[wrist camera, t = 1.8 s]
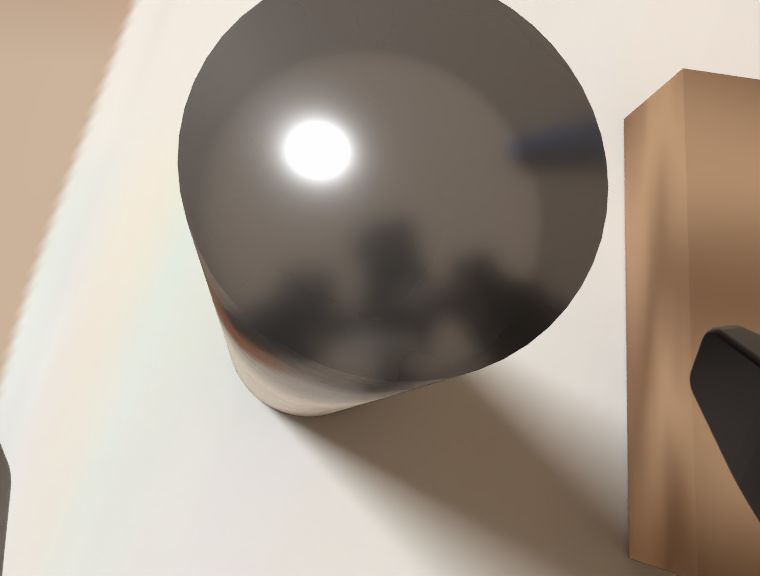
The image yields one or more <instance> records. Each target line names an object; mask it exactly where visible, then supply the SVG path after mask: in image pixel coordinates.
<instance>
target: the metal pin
mask: <svg viewBox="0 0 760 576" xmlns="http://www.w3.org/2000/svg"><path fill="white" fill-rule="evenodd" d="M178 172H179V183H180V193H181V197H182V202H183V206H184V210H185V214H186V219H187V222H188V226H189V229H190V232H191V235H192V238H193V241H194V244H195V247H196V250H197V253H198V256H199V259H200V263H201V266H202V269H203V272H204V275H205V278H206V281H207V284H208V287H209V290H210V293H211V296H212V300H213V303H214V306H215V309H216V312H217V315H218V318H219V321H220V324H221V327H222V330H223V333H224V337H225V340H226V343H227V346H228V349H229V352H230V355H231V358H232V361H233V364H234V366H235V369H236V371H237V373H238V375H239V377H240V378H241V380H242V381H243V383H244V384H245V385H246V387H247V388H248V389H249V390H250V391H251V392H252V393H253V394H254V395H255V396H256V397H257V398H258V399H260V400H261V401H262V402H263V403H265V404H267V405H269V406H270V407H272V408H274V409H276V410H279V411H281V412H284V413H288V414H291V415H297V416H320V415H326V414H330V413H334V412H337V411H340V410H344V409H347V408H351V407H354V406H357V405H361V404H364V403H368V402H371V401H374V400H378V399H381V398H385V397H388V396H391V395H395V394H398V393H402V392H405V391H408V390H412V389H415V388H419V387H422V386H425V385H429V384H432V383H436V382H439V381H442V380H446V379H449V378H453V377H456V376H459V375H463V374H466V373H470V372H473V371H476V370H479V369H481V368H484V367H486V366H488V365H491V364H493V363H495V362H498V361H500V360H502V359H504V358H506V357H508V356H509V355H511V354H513V353H514V352H516V351H518V350H519V349H521V348H523V347H524V346H526V345H527V344H529V343H530V342H531V341H532V340H534V339H535V338H536V337H537V336H539V335H540V334H541V333H542V332H543V331H545V330H546V329H547V328H548V327H549V326H550V325H551V324H552V323H553V322H554V321H555V320H556V319H557V318H558V316H559V315H560V314H561V313H562V312H563V311H564V310H565V309H566V308H567V306H568V305H569V303H570V302H571V301H572V299H573V298H574V296H575V295H576V293H577V292H578V290H579V289H580V288H581V286H582V284H583V282H584V280H585V278H586V276H587V274H588V272H589V270H590V268H591V266H592V264H593V262H594V259H595V256H596V253H597V250H598V247H599V244H600V241H601V238H602V233H603V228H604V223H605V218H606V213H607V197H608V178H607V164H606V157H605V152H604V147H603V142H602V137H601V133H600V130H599V127H598V124H597V121H596V118H595V115H594V112H593V110H592V107H591V105H590V103H589V101H588V99H587V97H586V95H585V93H584V90H583V88H582V86H581V85H580V83H579V82H578V80H577V78H576V77H575V75H574V74H573V72H572V70H571V69H570V67H569V66H568V64H567V63H566V62H565V60H564V59H563V58H562V57H561V55H560V54H559V53H558V52H557V50H556V49H555V48H554V47H553V45H552V44H551V43H550V42H549V41H548V40H547V39H546V38H545V37H544V36H543V35H542V34H541V33H540V32H539V31H538V30H537V29H536V28H535V27H534V26H533V25H532V24H530V23H529V22H528V21H527V20H525V19H524V18H523V17H522V16H520V15H519V14H518V13H517V12H515V11H514V10H513V9H511V8H510V7H508V6H507V5H505V4H503V3H502V2H500V1H499V0H262V1H261V2H260V3H258V4H257V5H256V6H255V7H253V8H252V9H251V10H249V11H248V12H247V13H246V14H244V15H243V16H242V17H241V18H240V19H239V20H238V21H237V22H236V23H235V24H234V25H233V26H232V27H231V28H230V29H229V30H228V31H227V32H226V33H225V34H224V35H223V36H222V38H221V39H220V40H219V42H218V43H217V44H216V46H215V47H214V49H213V50H212V51H211V53H210V54H209V55H208V57H207V58H206V60H205V62H204V64H203V66H202V68H201V70H200V71H199V73H198V75H197V77H196V79H195V81H194V83H193V86H192V89H191V92H190V94H189V97H188V100H187V103H186V106H185V109H184V114H183V119H182V124H181V129H180V134H179V149H178Z"/></svg>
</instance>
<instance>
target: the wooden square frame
mask: <svg viewBox="0 0 760 576" xmlns="http://www.w3.org/2000/svg"><path fill="white" fill-rule="evenodd" d="M624 158H625V250H626V341H627V433H628V525H629V558H631V559H634V560H637V561H640V562H643V563H646V564H649V565H652V566H655V567H658V568H661V569H664V570H667V571H670V572H673V573H676V574H679V575H682V576H760V523H759V521H758V519H757V518H756V516H755V514H754V513H753V511H752V510H751V508H750V506H749V505H748V503H747V501H746V500H745V498H744V496H743V494H742V493H741V491H740V489H739V487H738V485H737V484H736V482H735V480H734V478H733V476H732V474H731V472H730V470H729V468H728V466H727V464H726V462H725V460H724V457H723V455H722V453H721V451H720V449H719V447H718V445H717V443H716V441H715V439H714V437H713V435H712V432H711V430H710V428H709V426H708V424H707V422H706V420H705V418H704V416H703V414H702V412H701V410H700V407H699V405H698V403H697V401H696V399H695V397H694V395H693V393H692V390H691V387H690V380H689V378H690V371H691V368H692V365H693V363H694V360H695V357H696V354H697V351H698V349H699V346H700V343H701V340H702V337H703V335H704V334H705V333H706V332H707V330H708V329H711V328H713V327H721V326H729V325H739V326H742V327H745V328H747V329H749V330H751V331H753V332H756V333H758V334H760V80H758V79H751V78H744V77H737V76H731V75H724V74H717V73H710V72H704V71H697V70H690V69H682V70H681V71H680V72H678V73H677V74H676V75H675V76H674V77H673V78H671V79H670V80H669V81H668V82H667V83H666V84H664V85H663V86H662V87H661V88H660V89H659V90H657V91H656V92H655V93H654V94H653V95H652V96H650V97H649V98H648V99H647V100H646V101H645V102H643V103H642V104H641V105H640V106H639V107H638V108H637V109H635V110H634V111H633V112H632V113H631V114H630V115H628V116H627V117H626V118H625V119H624Z"/></svg>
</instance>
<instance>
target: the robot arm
mask: <svg viewBox="0 0 760 576" xmlns="http://www.w3.org/2000/svg"><path fill="white" fill-rule="evenodd" d="M689 380H690V387H691V390H692V393H693V395H694V397H695V399H696V401H697V403H698V405H699V407H700V410H701V412H702V414H703V416H704V418H705V420H706V422H707V424H708V426H709V428H710V430H711V432H712V435H713V437H714V439H715V441H716V443H717V445H718V447H719V449H720V451H721V453H722V455H723V457H724V460H725V462H726V464H727V466H728V468H729V470H730V472H731V474H732V476H733V478H734V480H735V482H736V484H737V485H738V487H739V489H740V491H741V493H742V494H743V496H744V498H745V500H746V501H747V503H748V505H749V506H750V508H751V510H752V511H753V513H754V514H755V516H756V518H757V519H758V521H759V523H760V334H758V333H756V332H753V331H751V330H749V329H747V328H745V327H742V326H739V325H729V326H721V327H713V328H711V329H708V330H707V332H706V333H705V334H704V335H703V337H702V340H701V343H700V346H699V349H698V351H697V354H696V357H695V360H694V363H693V365H692V368H691V371H690V378H689ZM10 490H11V474H10V468H9V465H8V462H7V459H6V457H5V454H4V452H3V449H2V446H1V444H0V576H2V570H3V560H4V550H5V540H6V530H7V520H8V510H9V500H10Z"/></svg>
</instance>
